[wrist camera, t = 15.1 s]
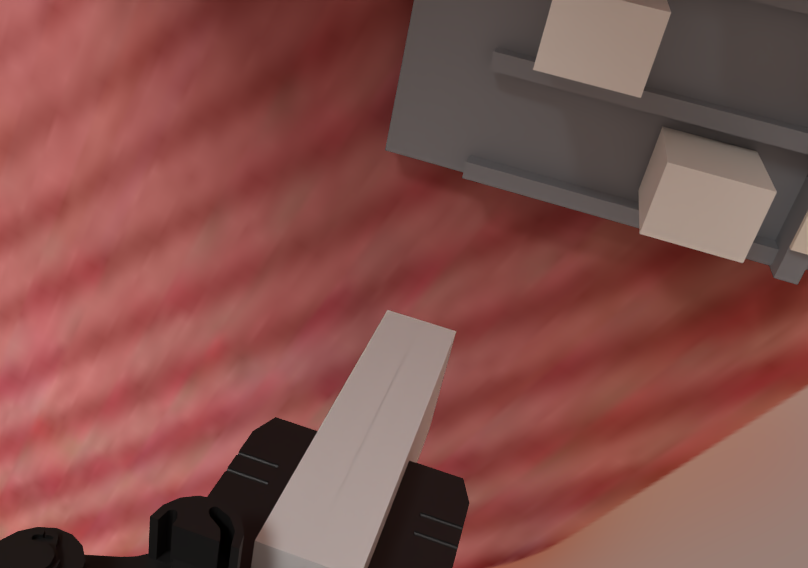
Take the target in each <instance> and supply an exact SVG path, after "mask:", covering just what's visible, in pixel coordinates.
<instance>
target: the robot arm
mask: <svg viewBox="0 0 808 568" xmlns="http://www.w3.org/2000/svg"><path fill="white" fill-rule="evenodd" d="M455 334H456V331H454V330H450V329H447V328H444V327H441V326H438V325H434V324H431V323H428V322H425V321H422V320H418V319H415V318H412V317H409V316H406V315H402V314H399V313H396V312H393V311H390V310H387V311H386V313H385V315H384V317H383V318H382V320H381V322H380V324H379V325H378V327H377V329H376V331H375V332H374V334H373V336H372V338H371V339H370V341H369V343H368V345H367V346H366V348H365V350H364V351H363V353H362V355H361V357H360V358H359V360H358V362H357V364H356V365H355V367H354V369H353V371H352V372H351V374H350V376H349V378H348V379H347V381H346V383H345V385H344V386H343V388H342V390H341V391H340V393H339V395H338V397H337V398H336V400H335V402H334V404H333V405H332V407H331V409H330V411H329V412H328V414H327V416H326V418H325V419H324V421H323V423H322V425H321V426H320V428H319V430H318V431H315V430H312V429H309V428H306V427H303V426H300V425H297V424H294V423H291V422H288V421H285V420H282V419H279V418H276V417H275V418H274V419H272V420H270V421H269V422H267V423H266V424H264V425H262V426H261V427H259V428H257V429H256V430H254V431H253V432H252V433H251V435H250V436H249V438H248V439H247V441H246V442H245V443H244V445H243V446H242V448H241V449H240V451H239V454H238V455H236V456H235V458H234V459H233V461H232V462H231V464H230V465H229V467H228V469H227V471H225V472H224V474H223V475H222V477H221V478H220V480H219V481H218V482H217V484H216V485H215V487H214V488H213V490H212V491H211V492H210V494H209V495H208V497H203V496H192V497H183V498H179V499H176V500H174V501H171V502H169V503H167V504H164V505H163V506H161V507H160V508H159V509H158V510H157V511H156V512H155V513H154V514H153V515H151V516H150V531H149V554H145V555H141V556H135V557H112V556H95V555H84V551H83V546H82V545H81V544H80V543H79V541H78V540H77V539H76V538H75V537H74V536H73V535H72V534H70V533H67V532H65V531H62V530H60V529H58V528H45V527H36V528H31V529H27V530H22V531H18V532H16V533H14V534H12V535H10V536H8V537H6V538H4V539H2V540H0V568H452V567H453V563H454V560H455V556H456V552H457V548H458V544H459V540H460V537H461V533H462V529H463V525H464V521H465V518H466V514H467V510H468V506H469V500H468V496H467V492H466V488H465V484H464V480H463V478H460V477H457V476H454V475H451V474H448V473H445V472H442V471H439V470H436V469H433V468H430V467H427V466H424V465H421V464H418V463H417V461H418V459H419V456H420V453H421V451H422V448H423V445H424V442H425V440H426V437H427V434H428V432H429V428H430V425H431V421H432V417H433V414H434V410H435V407H436V403H437V399H438V396H439V392H440V389H441V385H442V381H443V378H444V374H445V370H446V367H447V363H448V360H449V356H450V352H451V349H452V345H453V342H454V338H455Z"/></svg>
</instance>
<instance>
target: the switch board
mask: <svg viewBox="0 0 808 568" xmlns="http://www.w3.org/2000/svg"><path fill="white" fill-rule="evenodd" d="M667 2H668V5H669V8H670V11H671V15H670V17H669V20H668V23H667V26H666V29H665V31H664V34H663V37H662V40H661V43H660V45H659V48H658V51H657V54H656V57H655V60H654V62H653V65H652V68H651V71H650V74H649V76H648V79H647V82H646V85H645V88H644V90H643V93H642V96H641V98H639V97H635V96H631V95H627V94H624V93H620V92H616V91H612V90H608V89H604V88H601V87H597V86H593V85H589V84H585V83H582V82H578V81H574V80H570V79H566V78H563V77H559V76H555V75H551V74H547V73H543V72H540V71H536V70H533V68H534V64H535V60H536V57H537V53H538V50H539V46H540V43H541V39H542V35H543V32H544V28H545V25H546V21H547V17H548V14H549V10H550V7H551V3H552V0H414V3H413V8H412V14H411V19H410V24H409V29H408V34H407V40H406V45H405V50H404V55H403V60H402V65H401V71H400V76H399V81H398V86H397V91H396V97H395V102H394V107H393V112H392V117H391V122H390V128H389V133H388V138H387V143H386V148H385V150H386V151H390V152H393V153H397V154H400V155H404V156H407V157H411V158H414V159H418V160H421V161H425V162H428V163H432V164H436V165H439V166H443V167H446V168H450V169H453V170H457V171H460V172H463V176H462V178H464V179H468V180H471V181H475V182H478V183H482V184H485V185H489V186H492V187H496V188H499V189H503V190H506V191H510V192H513V193H517V194H520V195H524V196H527V197H531V198H534V199H538V200H541V201H545V202H548V203H552V204H555V205H559V206H562V207H566V208H569V209H573V210H576V211H580V212H583V213H587V214H590V215H594V216H598V217H601V218H605V219H608V220H612V221H615V222H619V223H622V224H626V225H629V226H633V227H636V228H639V195H638V190H639V187H640V185H641V182H642V179H643V177H644V174H645V172H646V169H647V166H648V164H649V161H650V158H651V156H652V153H653V150H654V148H655V145H656V142H657V140H658V137H659V134H660V132H661V129H662V126H663V127H667V128H671V129H674V130H678V131H682V132H686V133H689V134H693V135H697V136H701V137H704V138H708V139H712V140H716V141H719V142H723V143H727V144H731V145H734V146H738V147H742V148H746V149H749V150H753V151H757V152H758V154H759V156H760V158H761V160H762V162H763V164H764V166H765V169H766V171H767V173H768V175H769V177H770V179H771V181H772V183H773V185H774V187H775V189H776V191H777V193H776V195H775V197H774V199H773V201H772V203H771V206H770V208H769V210H768V212H767V214H766V216H765V218H764V220H763V222H762V224H761V227H760V229H759V231H758V233H757V235H756V237H755V239H754V241H753V243H752V245H751V248H750V250H749V252H748V254H747V256H746V258H745V259H749V260H752V261H756V262H759V263H763V264H766V265H769V267H770V269H771V272H772V275H773V277H774V278H776V279H779V280H783V281H786V282H790V283H793V284H797V285H798V283H799V281H800V279H801V277H802V275H803V274H804V272H805V270H808V0H667Z"/></svg>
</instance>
